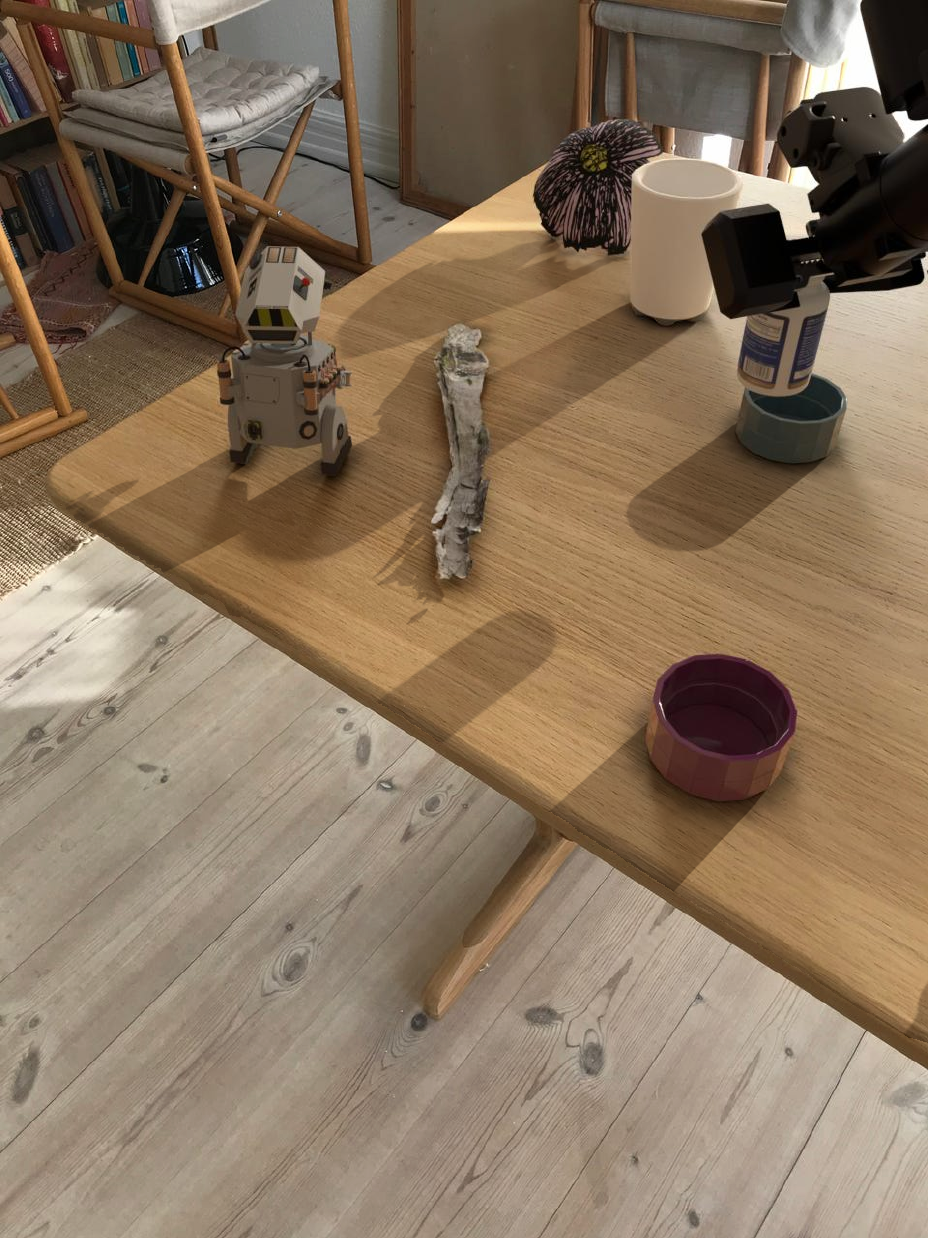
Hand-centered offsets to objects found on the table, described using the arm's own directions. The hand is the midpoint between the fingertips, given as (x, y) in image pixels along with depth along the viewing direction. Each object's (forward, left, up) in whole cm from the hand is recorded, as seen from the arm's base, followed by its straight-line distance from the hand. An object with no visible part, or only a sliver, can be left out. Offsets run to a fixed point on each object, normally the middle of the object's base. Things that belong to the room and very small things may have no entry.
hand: (778, 292), depth 72 cm
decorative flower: (+21, -38, -14) cm, 46 cm away
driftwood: (+23, +5, -14) cm, 27 cm away
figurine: (+35, +10, -14) cm, 39 cm away
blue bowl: (-3, -3, -14) cm, 14 cm away
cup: (+10, -22, -14) cm, 28 cm away
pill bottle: (-1, +1, -7) cm, 7 cm away
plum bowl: (-2, +31, -14) cm, 34 cm away
